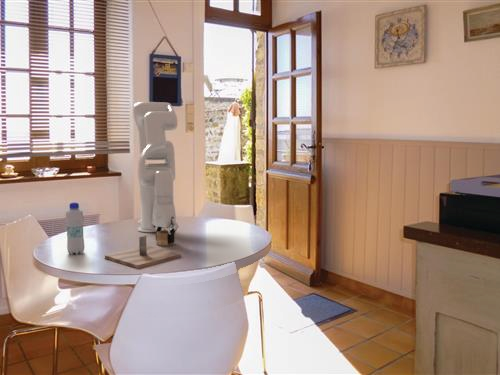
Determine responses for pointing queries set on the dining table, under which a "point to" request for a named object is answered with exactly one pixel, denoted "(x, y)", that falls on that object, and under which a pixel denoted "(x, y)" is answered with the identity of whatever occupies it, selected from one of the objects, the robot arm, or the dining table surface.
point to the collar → (162, 238)
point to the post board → (142, 255)
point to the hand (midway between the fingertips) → (165, 241)
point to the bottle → (74, 229)
